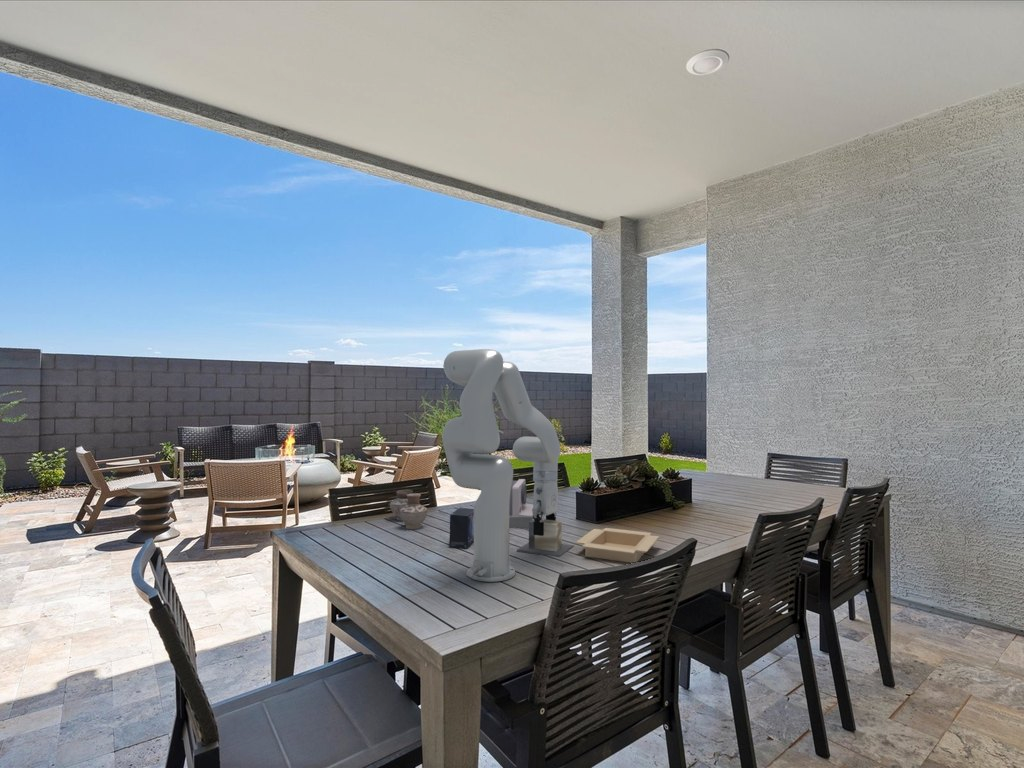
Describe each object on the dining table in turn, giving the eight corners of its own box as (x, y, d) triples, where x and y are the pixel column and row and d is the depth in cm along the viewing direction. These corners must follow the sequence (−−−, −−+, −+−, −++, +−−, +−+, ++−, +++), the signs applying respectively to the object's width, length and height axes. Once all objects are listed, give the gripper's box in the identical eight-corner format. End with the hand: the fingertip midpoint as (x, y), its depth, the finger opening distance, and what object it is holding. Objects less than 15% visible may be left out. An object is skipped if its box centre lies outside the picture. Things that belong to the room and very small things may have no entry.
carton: (644, 568, 148) (644, 554, 148) (572, 558, 157) (572, 544, 157) (660, 546, 169) (660, 534, 169) (596, 538, 179) (596, 526, 179)
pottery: (401, 532, 187) (401, 498, 187) (386, 517, 209) (387, 486, 210) (433, 529, 191) (433, 495, 191) (415, 515, 214) (415, 484, 214)
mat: (559, 557, 158) (559, 555, 158) (516, 551, 164) (516, 549, 164) (573, 547, 168) (573, 545, 168) (532, 541, 175) (532, 540, 175)
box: (555, 551, 162) (555, 524, 162) (528, 547, 166) (528, 521, 166) (561, 547, 166) (561, 521, 167) (535, 543, 170) (535, 518, 170)
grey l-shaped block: (530, 531, 189) (530, 488, 190) (476, 526, 196) (476, 485, 196) (545, 518, 210) (545, 479, 210) (495, 514, 216) (495, 477, 216)
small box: (468, 549, 166) (468, 515, 167) (448, 548, 168) (448, 514, 168) (477, 540, 177) (477, 508, 177) (458, 539, 178) (458, 507, 178)
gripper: (545, 480, 157) (545, 539, 156) (566, 473, 173) (566, 527, 172) (522, 478, 160) (522, 536, 160) (544, 472, 176) (544, 525, 175)
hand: (544, 531), depth 166 cm, fingers open, 9 cm apart
